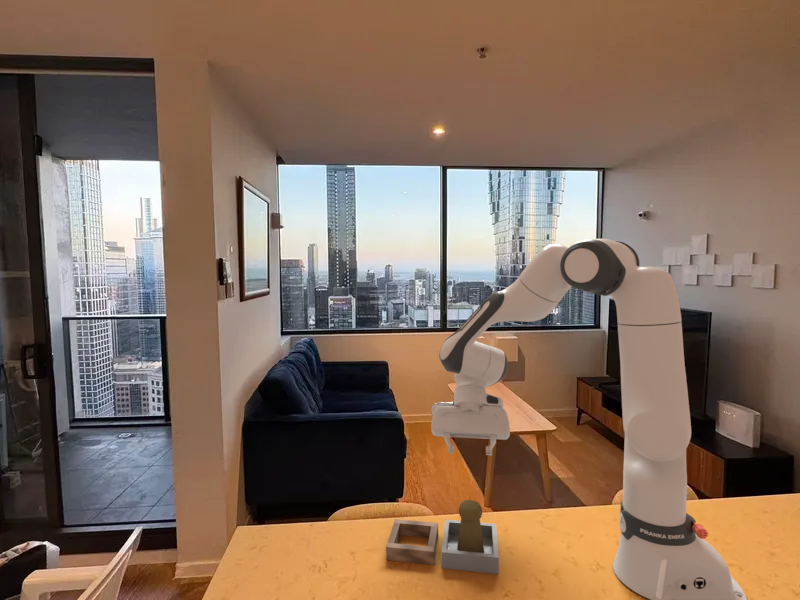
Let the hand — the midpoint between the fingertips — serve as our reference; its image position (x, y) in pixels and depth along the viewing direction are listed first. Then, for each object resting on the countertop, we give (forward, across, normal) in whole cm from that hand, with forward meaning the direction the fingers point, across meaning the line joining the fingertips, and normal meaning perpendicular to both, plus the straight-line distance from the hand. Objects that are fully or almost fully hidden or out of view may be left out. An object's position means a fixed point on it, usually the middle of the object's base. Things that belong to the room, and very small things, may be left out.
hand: (469, 453), depth 105 cm
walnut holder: (+21, -13, +4) cm, 25 cm away
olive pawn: (+21, 0, +4) cm, 21 cm away
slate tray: (+21, 0, +4) cm, 21 cm away
